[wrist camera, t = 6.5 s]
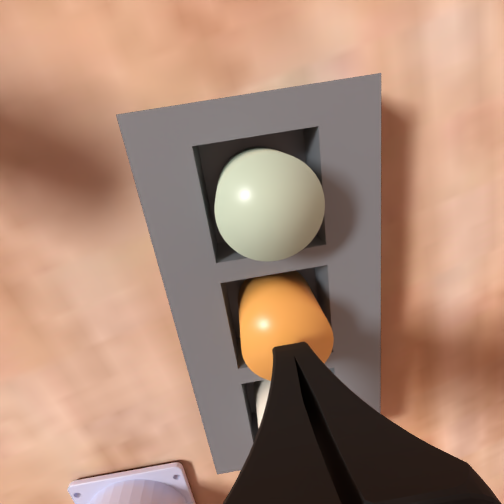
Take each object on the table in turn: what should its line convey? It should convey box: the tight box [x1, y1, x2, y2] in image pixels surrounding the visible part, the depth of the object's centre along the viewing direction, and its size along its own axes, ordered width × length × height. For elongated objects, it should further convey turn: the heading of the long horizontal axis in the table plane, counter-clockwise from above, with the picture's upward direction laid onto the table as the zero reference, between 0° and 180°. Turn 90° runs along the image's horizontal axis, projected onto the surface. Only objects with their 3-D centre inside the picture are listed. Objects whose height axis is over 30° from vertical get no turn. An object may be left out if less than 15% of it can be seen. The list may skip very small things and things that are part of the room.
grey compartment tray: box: [116, 73, 381, 474], centre depth 17 cm, size 20×10×3 cm, turn 8°
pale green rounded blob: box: [214, 147, 325, 261], centre depth 13 cm, size 4×4×4 cm
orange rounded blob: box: [238, 271, 334, 381], centre depth 15 cm, size 4×4×4 cm
